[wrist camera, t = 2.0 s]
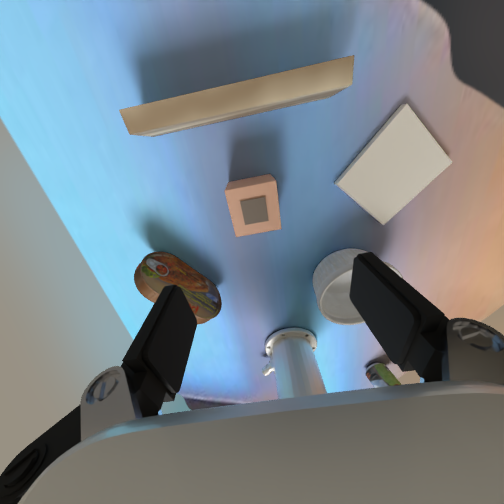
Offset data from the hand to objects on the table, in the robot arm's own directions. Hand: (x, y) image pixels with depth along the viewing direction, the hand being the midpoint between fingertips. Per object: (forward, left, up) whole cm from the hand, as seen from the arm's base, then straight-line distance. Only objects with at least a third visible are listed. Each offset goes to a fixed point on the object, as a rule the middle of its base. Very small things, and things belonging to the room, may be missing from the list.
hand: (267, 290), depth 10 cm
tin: (-18, +2, -21) cm, 27 cm away
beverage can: (-19, -56, -20) cm, 63 cm away
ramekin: (-2, -22, -21) cm, 30 cm away
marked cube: (0, 0, -20) cm, 20 cm away
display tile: (+14, -14, -20) cm, 28 cm away
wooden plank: (+8, +8, -20) cm, 23 cm away
